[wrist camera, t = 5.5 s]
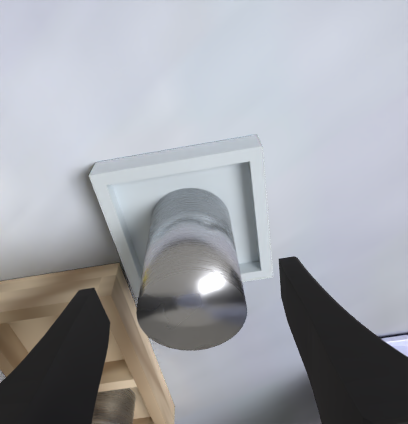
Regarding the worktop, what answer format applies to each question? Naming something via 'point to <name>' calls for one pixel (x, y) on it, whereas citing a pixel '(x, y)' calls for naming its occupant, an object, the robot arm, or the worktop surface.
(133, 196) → the tray
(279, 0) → the worktop surface
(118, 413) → the seated billet
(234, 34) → the worktop surface
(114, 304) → the wooden compartment tray
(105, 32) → the worktop surface
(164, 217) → the billet
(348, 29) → the worktop surface
